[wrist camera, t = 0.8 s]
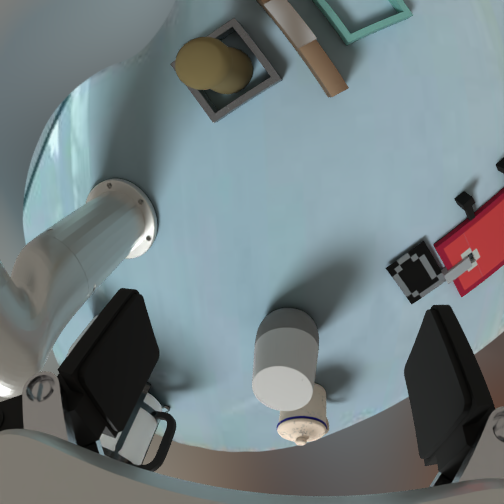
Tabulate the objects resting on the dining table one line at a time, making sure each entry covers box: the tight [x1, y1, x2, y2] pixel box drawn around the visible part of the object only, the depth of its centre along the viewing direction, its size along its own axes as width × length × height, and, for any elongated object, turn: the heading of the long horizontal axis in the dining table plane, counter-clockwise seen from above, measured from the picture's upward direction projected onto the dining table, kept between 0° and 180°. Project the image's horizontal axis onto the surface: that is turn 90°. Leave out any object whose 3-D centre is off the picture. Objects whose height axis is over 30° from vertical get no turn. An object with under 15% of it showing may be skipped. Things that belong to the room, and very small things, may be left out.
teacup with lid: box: [277, 383, 329, 445], centre depth 51 cm, size 12×9×12 cm
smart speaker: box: [252, 308, 319, 411], centre depth 42 cm, size 10×9×14 cm
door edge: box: [256, 0, 348, 97], centre depth 26 cm, size 2×18×5 cm, turn 34°
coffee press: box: [100, 382, 176, 472], centre depth 53 cm, size 17×16×30 cm
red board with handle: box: [386, 158, 504, 304], centre depth 34 cm, size 30×3×15 cm
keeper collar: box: [171, 18, 282, 123], centre depth 31 cm, size 9×9×2 cm
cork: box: [175, 37, 253, 94], centre depth 27 cm, size 6×6×11 cm
